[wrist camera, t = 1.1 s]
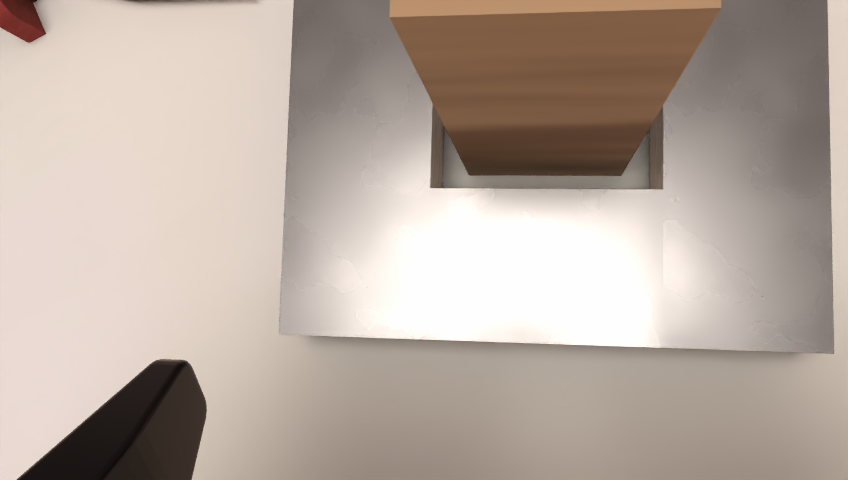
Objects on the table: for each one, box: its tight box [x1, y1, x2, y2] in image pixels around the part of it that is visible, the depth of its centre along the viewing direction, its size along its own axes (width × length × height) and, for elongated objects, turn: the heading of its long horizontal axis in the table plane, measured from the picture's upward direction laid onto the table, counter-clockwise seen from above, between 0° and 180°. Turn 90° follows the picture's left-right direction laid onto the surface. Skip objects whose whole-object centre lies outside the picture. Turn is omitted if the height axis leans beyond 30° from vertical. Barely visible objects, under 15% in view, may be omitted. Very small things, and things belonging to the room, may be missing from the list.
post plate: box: [279, 0, 834, 354], centre depth 22 cm, size 14×14×2 cm
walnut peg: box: [389, 0, 721, 176], centre depth 17 cm, size 4×4×12 cm
